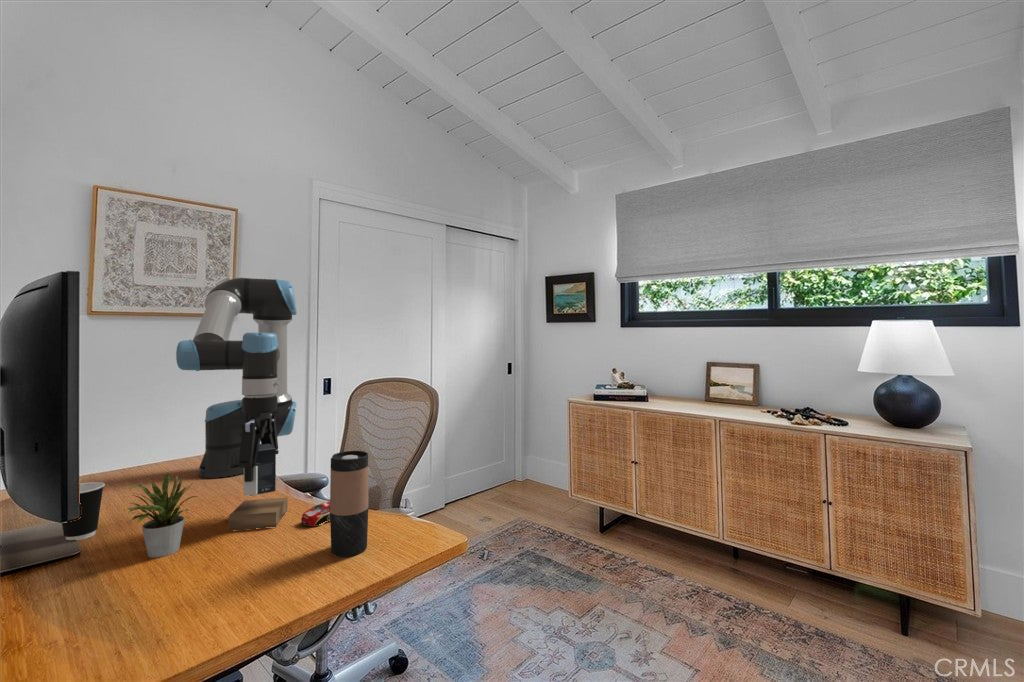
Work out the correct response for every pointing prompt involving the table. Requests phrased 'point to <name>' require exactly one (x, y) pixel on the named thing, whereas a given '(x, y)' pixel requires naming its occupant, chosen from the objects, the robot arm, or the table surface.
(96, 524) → the dixie cup
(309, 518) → the race car
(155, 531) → the house plant
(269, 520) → the walnut pedestal
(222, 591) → the table surface
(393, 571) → the table surface
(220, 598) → the table surface
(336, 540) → the travel mug
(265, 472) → the box
